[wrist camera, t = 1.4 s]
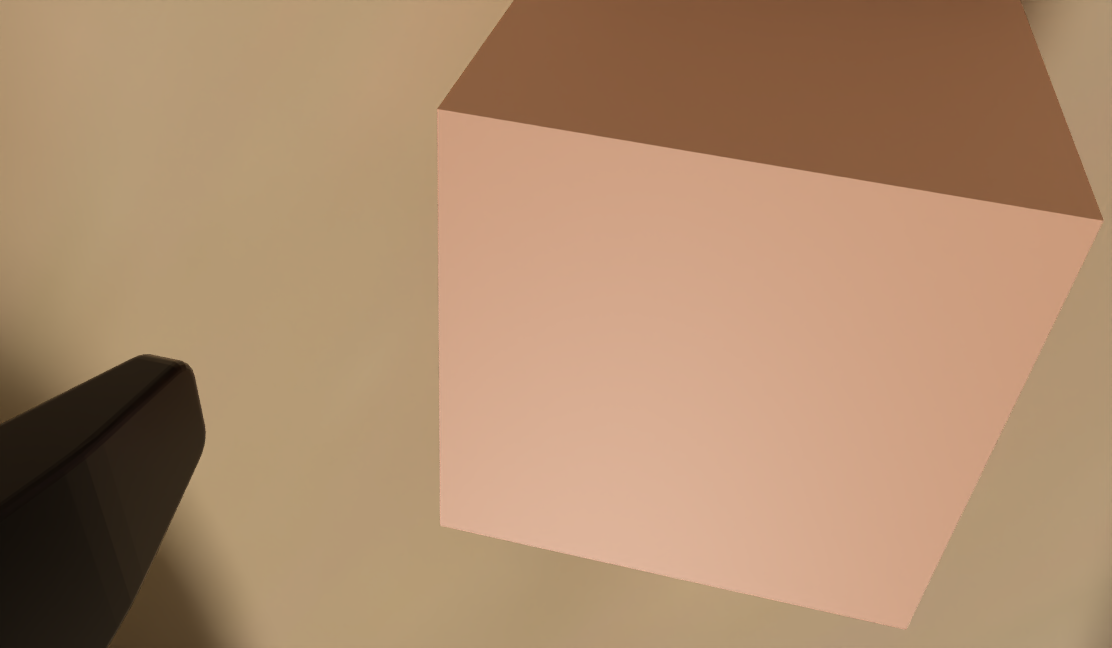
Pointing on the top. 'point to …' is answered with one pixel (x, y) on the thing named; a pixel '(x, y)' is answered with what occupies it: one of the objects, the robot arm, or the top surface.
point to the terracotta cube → (747, 283)
